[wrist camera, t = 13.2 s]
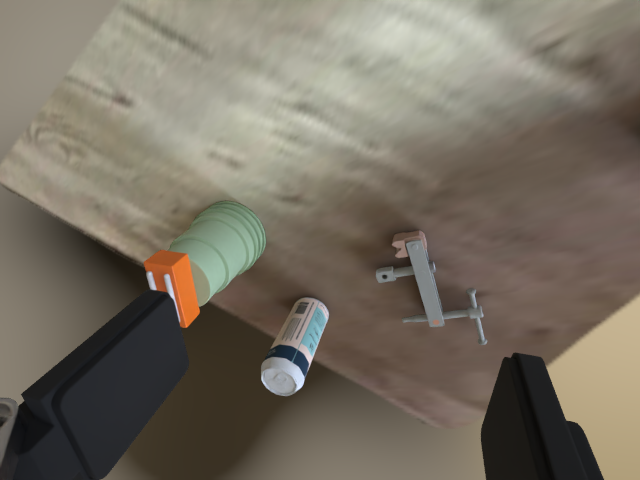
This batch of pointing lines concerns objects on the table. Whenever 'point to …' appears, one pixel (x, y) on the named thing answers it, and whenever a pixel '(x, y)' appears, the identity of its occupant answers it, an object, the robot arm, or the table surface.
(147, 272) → the striped orange block
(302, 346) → the beer can
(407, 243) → the clamp
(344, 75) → the table surface
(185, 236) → the cup stack
